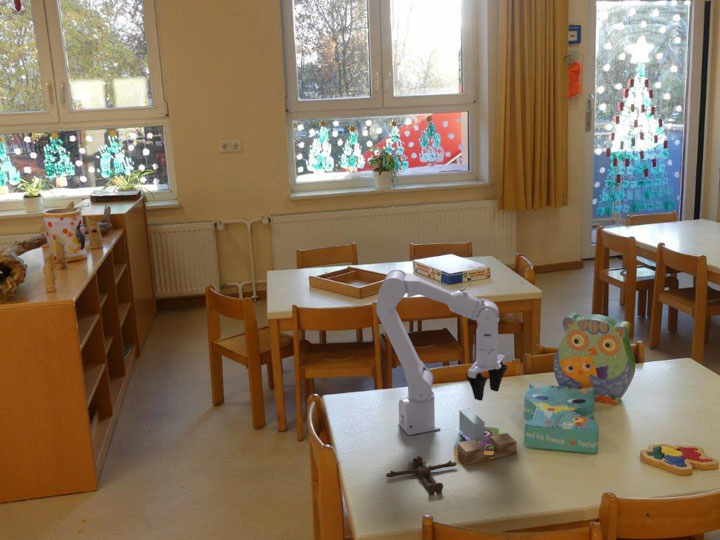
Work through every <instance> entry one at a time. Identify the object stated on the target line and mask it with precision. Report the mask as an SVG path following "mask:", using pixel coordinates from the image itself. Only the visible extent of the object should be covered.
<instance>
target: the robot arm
mask: <svg viewBox="0 0 720 540" xmlns="http://www.w3.org/2000/svg"><path fill="white" fill-rule="evenodd" d="M406 294H407V296H406V298H411V297H415V296H418V295H419V296H422V297H425V298H428V299H431V300H434V301H436V302H439V303H442V304H444V305H447V306H448V308H449V311H450V312H453V313H455V314H457V315H460V316H463V317H464V318H467V319H470V320H472V321H476V323H477V328H476V331H475V332H476V336H475V337H476V338H475V339H476V343H475V345H476V347H475V353H476V354H475V362H474V363H473V364H472V366H471V367H470V368H469V369H468V370H467V373H466V374H465V378H466V379H467V381H468V383H469V385H470V387H471V391H472V394H473V398H474V399H475V400H477V401H483V398H484V394H485V393H484V392H485V387H486V383H487V381H488V379H489V389H490V390H491V391H494V392H499V390H500V386H501V382H502V380H503V377H504V375H505V373H506V371H507V370H508V365H506V364H505V363H506V356H505V355H503V354H500V353H499V330H498V329H499V322H500V315H499V307H498V306H497V304H496V303H495V302H494V301H492V300H490V299H485V298H483V297H481V298H478V297H475V296H473V295H471V294H469V292H468V291H466V290H465V289H464V290H462V291H460V290H457V291H456V290H455V291H454V292H453V291H452V292H451V291H449V290H447V289H444V288H443V287H440V286H438V285H436V284H434V283H431V282H429V281H427V280H425V279H423V278H421V277H419V276H417V275H415V274H413V273H411V272H405V271H403V270H402V269H392V270H390V271H389V272H388V273H387V274H386V276H385V277H384V280H383V281H382V283H381V286H380V288H379V289H378V297H377V302H376V308H375V311H376V312H375V313H376V315H377V316H378V319H379V321H380V322H381V325H382V327H383V329H384V331H385V333H386V335H387V338H388V340H389V341H390V344H391V346H392V348H393V350H394V352H395V354H396V356H397V358H398V360H399V362H400V364H401V367H402V369H403V372H404V378H405V381H406V383H407V396H405V397H404V398H401V399H399V401H398V422H397V423H398V425H399V426H400V427H401V429H402V430H403V431H404V432H405V433H406V434H407V435H408V436H412V435H417V434H422V433H427V432H429V433H430V432H433V431H439V430H441V426H439V425H438V423H437V422H436V419H435V418H436V417H435V415H436V414H435V409H436V408H435V406H436V405H435V393H434V391H433V390H432V387H433V383H434V374H433V373H432V371H431V370H430V369H429V368H427V367H426V365H425V363H424V362H423V361H422V360H421V359H420V358H419V356H418V353H417V351H416V349H415V346H414V345H413V343H412V342H413V341H412V340H411V339H410V337H409V334H408V333H407V330H406V328H405V326H404V323H403V322H402V319H401V317H400V316H399V313H398V312H397V305H398V303H400V301H401V300H403V298H404V297H405V295H406ZM485 372H488V376H489V377H485V376H483V375H482V373H485Z"/></svg>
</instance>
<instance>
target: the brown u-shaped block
mask: <svg viewBox="0 0 720 540" xmlns="http://www.w3.org/2000/svg"><path fill="white" fill-rule="evenodd" d="M490 443H491V444H492V445H493V446H494V454H493V455H484V447H483V446H482V445H480V444H479V443H478V442H477V441H476V440H475V439H474V440H469V441H466V440H465V441H464V440H463V441H460V442H457V444H456V445H457V451H458V455H457V457H459V459H460V458H461V459H462V460H463V461H464V462H465V463H466V464H465V463H464V462H463V461H462V462H463V463H464V464H465V465H470V463H471V464H475V463H479V462H485V461H488V460H487V459H489V458H491V457H492V458H493V457H494V458H495V459H500V458H503V457H510V456H513V455H517V453H518V451H517V449H518V448H517V447H518V446H517V444H518V443H517V440H516V439H515V438H513V437H512V436H511V435H510V434H508V433H507V432H505V433H504V432H503V433H500V434H495V435H494V434H493V435H490V436H489V444H490ZM461 459H460V460H461ZM484 460H485V461H484Z"/></svg>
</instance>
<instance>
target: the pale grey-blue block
mask: <svg viewBox="0 0 720 540" xmlns="http://www.w3.org/2000/svg"><path fill="white" fill-rule="evenodd" d="M458 411H459V415H458V416H459V427H458V428H459V430H461V431H462V432H463V433H464V434H465V435H466V436H467V437H469V438H470V439H471V440H474V439H475V440H476V441H477V442H479V441H484V440H485V438H486V437H485V435H486V434H485V432H486V430H485V427H486V426H485V425H486V424H485V423H486V422H485V421H484V420H483V419H482V418H480V417H479V415H477V414H476V413H475V412H474V411H473V410H471V409H470V408H465V409H459V410H458Z"/></svg>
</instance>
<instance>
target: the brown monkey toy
mask: <svg viewBox="0 0 720 540" xmlns="http://www.w3.org/2000/svg"><path fill="white" fill-rule="evenodd" d="M426 462H427V461H426V460H425V459H423V457H421V456H420V455H418V456H417V457H416V458H415V457H413V459H412V461H409V462H408V463H407V466H409V467H412V468H413V469H408V470H407V469H406V470H400V471H393V470H390V472H389V473H385V476H386V478H394V477H397V476H398V477H399V476H405V475H412V474H417V475H418V477H419V479H420V480H421V482H422V483H423V486H424V488H425V489H426V490H427V493H428V495H429V496H432V495H435V492H436V494H442V493H443V488H444V484H443V483H442V482H437V481H436V480H435V479H434V477H433V475H432V471H435V470H440V469H444V468H452V467H456V466H457V462H455V461H453V462H452V460H449V461H448V462H445V463H442V464H441V463H439V464H435V465H428V466H426V465H425V464H426ZM428 480H429V481H430V483H429V482H428Z"/></svg>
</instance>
